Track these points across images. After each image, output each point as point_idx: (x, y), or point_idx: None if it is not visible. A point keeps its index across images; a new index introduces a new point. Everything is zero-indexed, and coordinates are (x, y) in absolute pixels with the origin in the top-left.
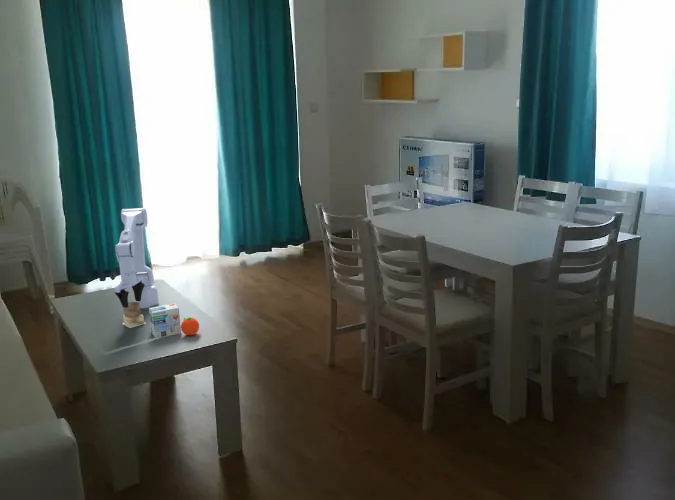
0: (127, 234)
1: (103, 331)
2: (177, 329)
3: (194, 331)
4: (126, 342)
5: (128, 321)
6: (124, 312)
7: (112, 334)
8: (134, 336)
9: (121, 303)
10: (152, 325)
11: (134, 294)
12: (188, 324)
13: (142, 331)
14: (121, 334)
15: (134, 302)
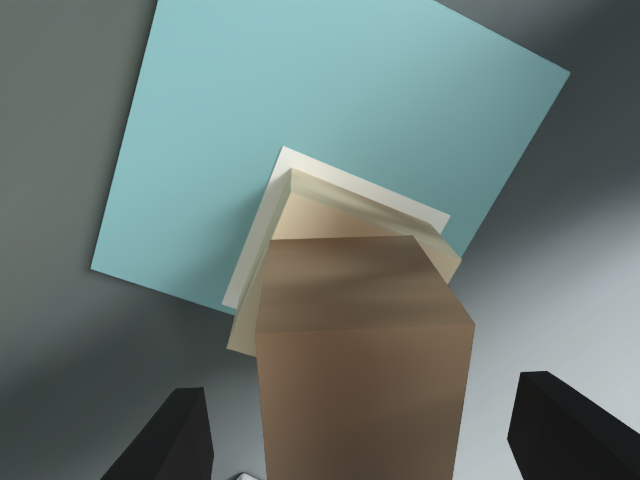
0: None
1: (65, 65)
2: None
3: None
4: (28, 435)
5: (242, 299)
6: (265, 270)
7: (68, 222)
8: (142, 410)
9: (135, 441)
10: None
11: (620, 466)
12: None
13: (248, 396)
14: (115, 296)
15: (428, 421)
